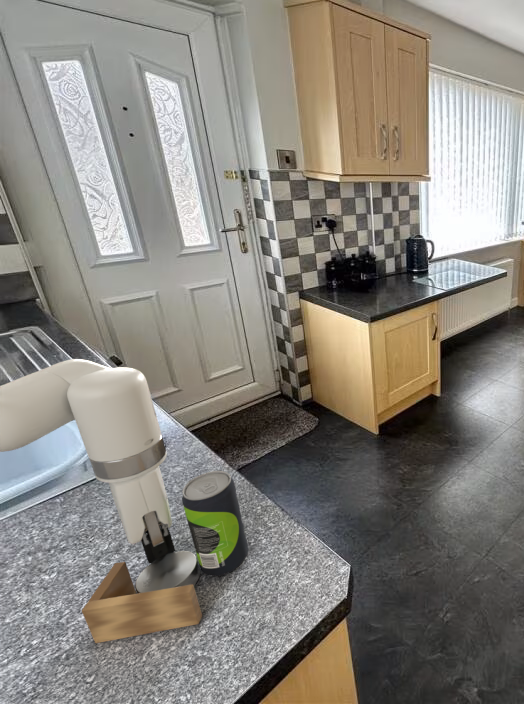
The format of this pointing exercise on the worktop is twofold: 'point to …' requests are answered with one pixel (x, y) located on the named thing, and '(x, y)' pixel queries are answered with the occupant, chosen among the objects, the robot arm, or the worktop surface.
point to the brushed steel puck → (169, 572)
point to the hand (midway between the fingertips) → (161, 554)
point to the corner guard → (137, 608)
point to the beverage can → (215, 522)
